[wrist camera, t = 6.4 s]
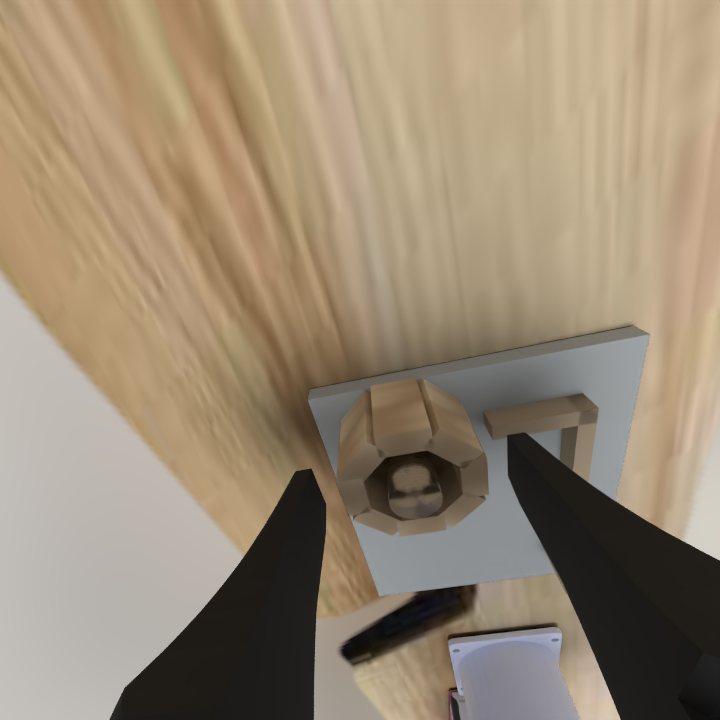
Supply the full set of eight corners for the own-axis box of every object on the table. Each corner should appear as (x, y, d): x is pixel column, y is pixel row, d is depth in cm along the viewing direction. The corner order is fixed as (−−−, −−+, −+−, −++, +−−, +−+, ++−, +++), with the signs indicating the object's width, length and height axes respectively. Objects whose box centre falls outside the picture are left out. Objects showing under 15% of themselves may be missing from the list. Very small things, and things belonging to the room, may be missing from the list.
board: (592, 553, 20) (628, 611, 17) (378, 582, 21) (381, 640, 18) (633, 325, 13) (706, 363, 10) (310, 389, 14) (298, 437, 11)
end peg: (426, 443, 14) (445, 514, 11) (386, 450, 15) (393, 522, 12) (421, 411, 14) (439, 478, 11) (378, 419, 14) (384, 487, 11)
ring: (467, 464, 15) (490, 523, 12) (358, 481, 16) (358, 543, 13) (458, 369, 13) (485, 418, 10) (330, 393, 13) (323, 446, 11)
